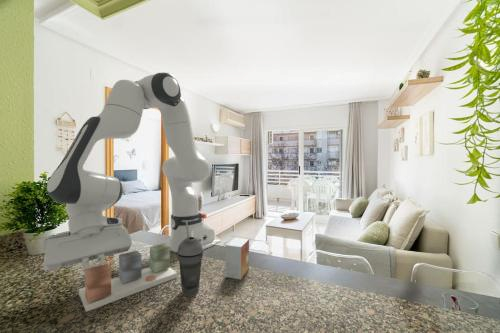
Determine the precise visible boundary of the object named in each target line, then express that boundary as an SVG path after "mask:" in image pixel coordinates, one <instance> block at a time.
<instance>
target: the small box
mask: <svg viewBox="0 0 500 333" xmlns="http://www.w3.org/2000/svg"><path fill="white" fill-rule="evenodd" d="M224 246H225V251H224V252H225V254H224V255H225V262H224V264H225V265H224V266H225V268H224V270H225V271H224V273H225V274H224V276H225V278H230V279H235V280H242V279H243V277H244V276H245V275H246V273H247V272H249V269H250V268H249V267H250V239H249V238H241V237H234V238H233V239H231V241H229V242H228V243H227V244H225V245H224Z"/></svg>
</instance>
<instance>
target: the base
mask: <svg viewBox="0 0 500 333" xmlns="http://www.w3.org/2000/svg"><path fill="white" fill-rule="evenodd" d="M177 278H178V272H176V270H174V269H172V267H170V268H167V269H164V270H161V271H158V272H153V271H152V270H151V269H150V266H149V267H145V268H141V277H140V278H137V279H134V280H131V281H128V282H125V283H123V282H122V281H121V280H120V278H119V276H117V277H113V278H111V295H109V296H106V297H104V298H101V299H98V300H95V301H92V302H90V303H88V301H87V299H86V296H85V286H84V287H81V288H79V289H78V295H79V298H80V300H81V303H82V304H83V307H84V311H85V312H86V313H87V312H89V311H92V310H95V309H97V308H100V307H103V306H104V305H108V304H110V303H114V302H115V301H118V300H119V301H120V299H121V300H122V299H124V298H126V297H129V296H132V295H134V294H137V293H139V292H143V291H145V290H148V289H151V288H153V287H155V286H158V285H161V284H164V283H166V282H168V281H171V280H174V279H177Z"/></svg>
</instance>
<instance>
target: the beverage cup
mask: <svg viewBox="0 0 500 333" xmlns="http://www.w3.org/2000/svg"><path fill="white" fill-rule="evenodd" d="M186 230H187V238H186V239H184V240H183V241H182V242H181V243H180V245H179V247H178V252H176V255H177V259H178V263H179V274H180V288H181V291H182V292H181V294H182V295H183V296H184V297H193V295H194V296H196V295H197V294H199V288H200V281H201V280H200V279H201V270H202V261H203V260H202V259H203V256H204V255H203V254H204V250H203V247H202V244H201V242H200V241H199V240H198V239H197V238H195V237H189V231H188V222H186Z"/></svg>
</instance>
